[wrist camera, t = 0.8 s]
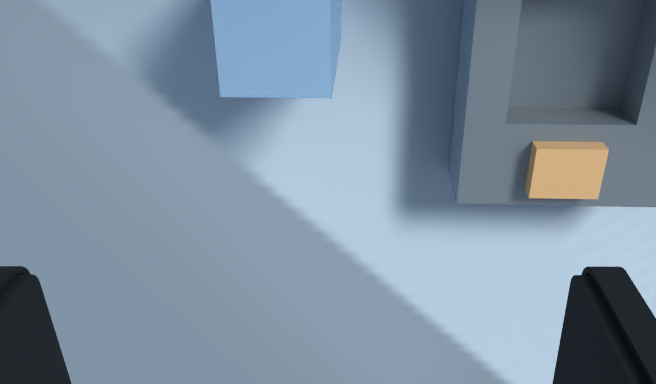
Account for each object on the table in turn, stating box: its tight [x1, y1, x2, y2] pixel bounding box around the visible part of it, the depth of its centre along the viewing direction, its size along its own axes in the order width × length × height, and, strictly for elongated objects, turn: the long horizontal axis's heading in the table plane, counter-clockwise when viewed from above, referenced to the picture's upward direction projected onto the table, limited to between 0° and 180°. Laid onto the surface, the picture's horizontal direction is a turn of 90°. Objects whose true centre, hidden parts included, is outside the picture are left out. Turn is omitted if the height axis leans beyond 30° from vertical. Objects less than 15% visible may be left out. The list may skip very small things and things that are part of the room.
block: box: [210, 0, 341, 98], centre depth 25 cm, size 4×4×8 cm
